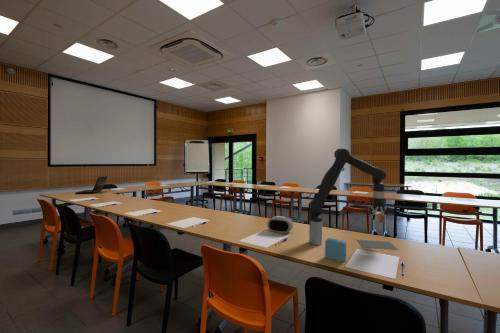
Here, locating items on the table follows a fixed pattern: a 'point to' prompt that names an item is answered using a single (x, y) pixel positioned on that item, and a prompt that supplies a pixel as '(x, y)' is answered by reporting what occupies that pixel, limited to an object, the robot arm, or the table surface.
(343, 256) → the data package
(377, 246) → the charcoal mat
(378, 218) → the maple block
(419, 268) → the table surface
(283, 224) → the alarm clock
